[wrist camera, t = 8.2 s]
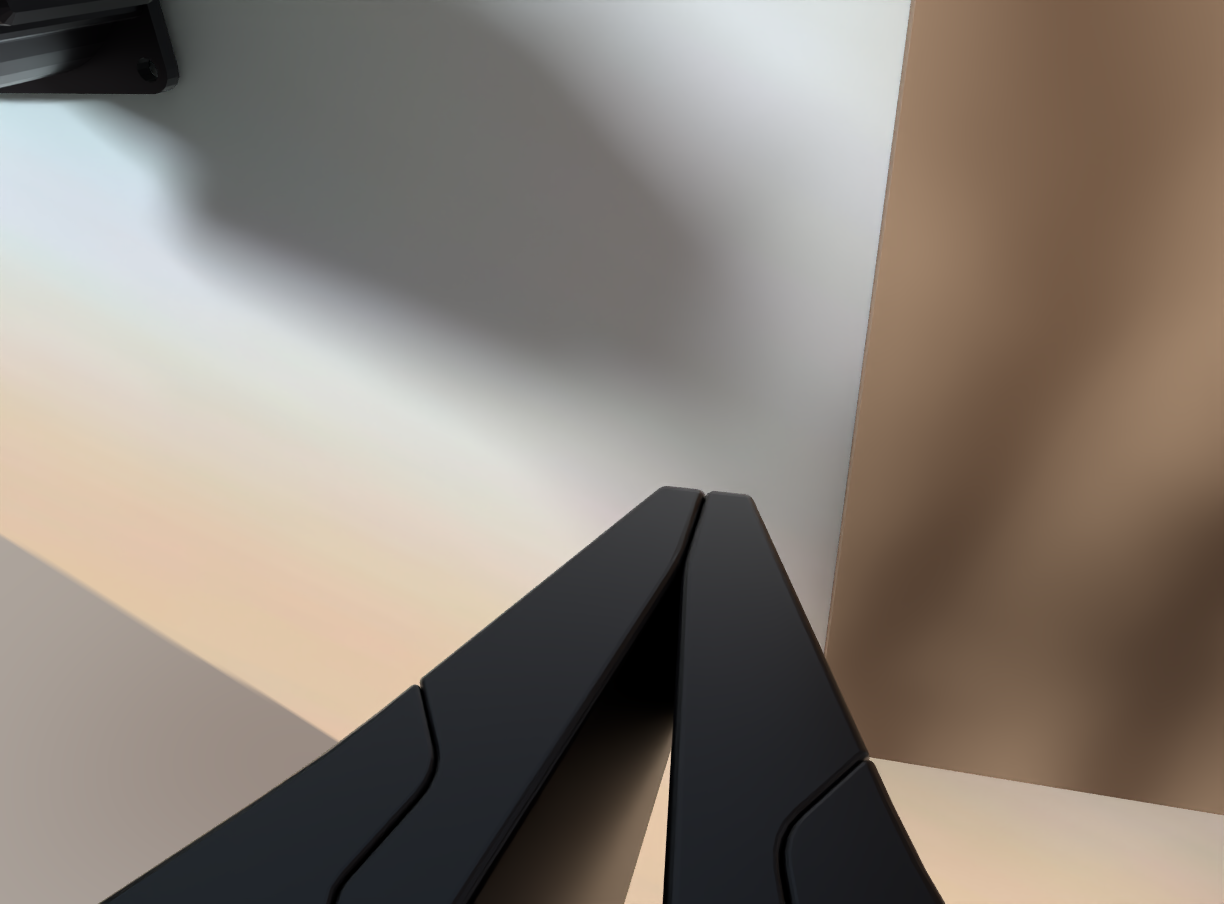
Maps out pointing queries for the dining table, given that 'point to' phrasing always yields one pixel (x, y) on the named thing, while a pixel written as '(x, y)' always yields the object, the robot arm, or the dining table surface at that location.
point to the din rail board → (1045, 406)
